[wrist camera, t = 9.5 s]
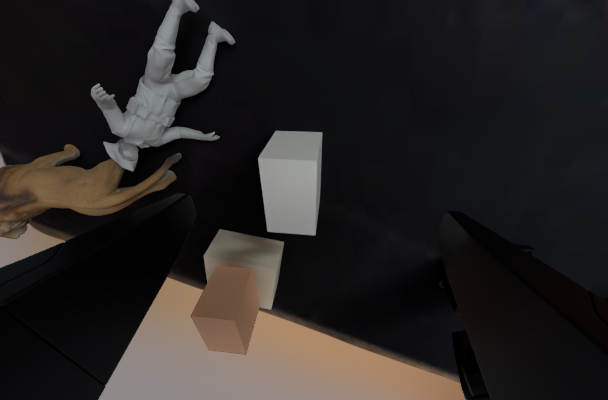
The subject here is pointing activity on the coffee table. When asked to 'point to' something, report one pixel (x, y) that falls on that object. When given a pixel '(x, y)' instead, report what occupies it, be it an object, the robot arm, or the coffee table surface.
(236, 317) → the terracotta brick
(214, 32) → the soldier figure
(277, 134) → the off-white brick
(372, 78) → the coffee table surface
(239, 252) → the birch block
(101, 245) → the robot arm
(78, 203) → the lion figurine
